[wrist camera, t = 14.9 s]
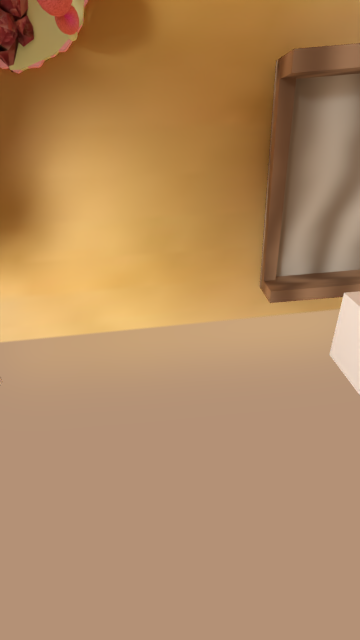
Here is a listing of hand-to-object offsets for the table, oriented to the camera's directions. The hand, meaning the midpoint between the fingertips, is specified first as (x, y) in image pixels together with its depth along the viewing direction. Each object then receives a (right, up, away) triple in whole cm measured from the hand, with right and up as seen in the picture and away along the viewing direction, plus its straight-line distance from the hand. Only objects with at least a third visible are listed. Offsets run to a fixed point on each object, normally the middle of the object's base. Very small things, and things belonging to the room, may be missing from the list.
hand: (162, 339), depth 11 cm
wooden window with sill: (+19, +16, +23) cm, 33 cm away
